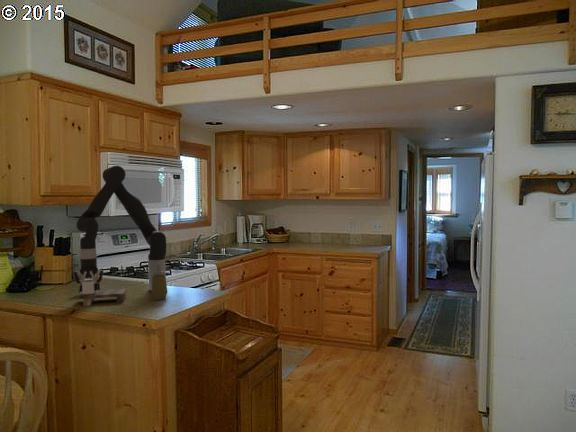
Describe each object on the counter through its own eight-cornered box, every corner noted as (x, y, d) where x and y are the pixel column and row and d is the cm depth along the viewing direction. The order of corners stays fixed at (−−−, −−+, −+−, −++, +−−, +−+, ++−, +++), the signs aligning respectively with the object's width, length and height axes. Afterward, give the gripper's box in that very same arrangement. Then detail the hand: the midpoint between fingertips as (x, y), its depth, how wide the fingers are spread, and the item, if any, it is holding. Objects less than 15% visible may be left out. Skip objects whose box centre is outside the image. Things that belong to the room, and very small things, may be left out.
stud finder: (96, 290, 224) (96, 278, 224) (93, 293, 216) (92, 281, 215) (86, 290, 223) (85, 278, 223) (82, 294, 214) (82, 282, 214)
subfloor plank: (127, 296, 231) (126, 287, 231) (123, 303, 216) (123, 294, 216) (82, 299, 226) (82, 290, 226) (75, 306, 210) (75, 297, 210)
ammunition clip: (79, 295, 236) (78, 273, 235) (78, 294, 237) (77, 272, 237) (100, 292, 242) (99, 271, 242) (99, 291, 244) (98, 270, 243)
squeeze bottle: (153, 301, 219) (152, 266, 218) (150, 298, 226) (149, 264, 225) (169, 299, 222) (168, 264, 222) (165, 296, 230) (165, 262, 229)
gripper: (104, 255, 224) (105, 288, 225) (74, 257, 220) (75, 290, 221) (102, 257, 217) (103, 291, 217) (71, 259, 213) (72, 293, 214)
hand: (89, 290), depth 219 cm, fingers closed on stud finder, 5 cm apart
